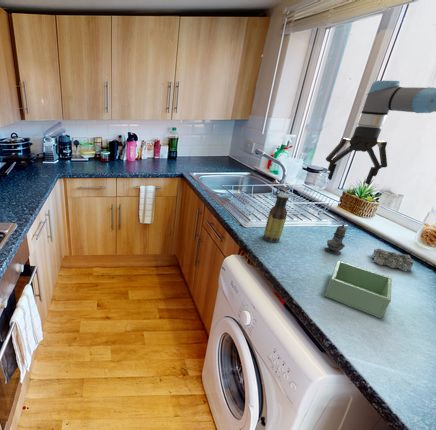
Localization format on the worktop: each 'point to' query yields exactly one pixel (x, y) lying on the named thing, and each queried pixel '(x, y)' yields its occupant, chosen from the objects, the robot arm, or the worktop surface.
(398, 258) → the egg carton
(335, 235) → the dark stone statuette
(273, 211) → the sauce bottle
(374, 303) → the box
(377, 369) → the worktop surface
